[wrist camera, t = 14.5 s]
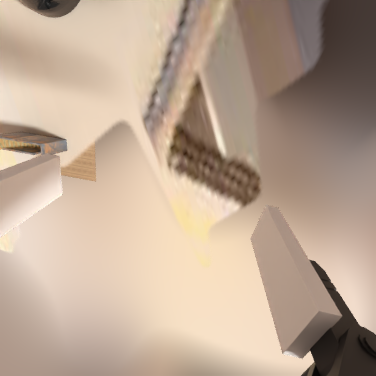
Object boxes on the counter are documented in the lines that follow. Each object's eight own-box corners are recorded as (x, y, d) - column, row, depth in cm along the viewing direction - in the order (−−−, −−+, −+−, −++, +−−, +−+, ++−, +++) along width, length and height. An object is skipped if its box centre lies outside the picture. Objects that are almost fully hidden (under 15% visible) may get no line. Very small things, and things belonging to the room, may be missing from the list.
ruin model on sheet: (5, 164, 52) (-40, 176, 43) (-10, 96, 46) (-65, 93, 37) (96, 181, 50) (70, 197, 41) (93, 113, 44) (62, 113, 35)
